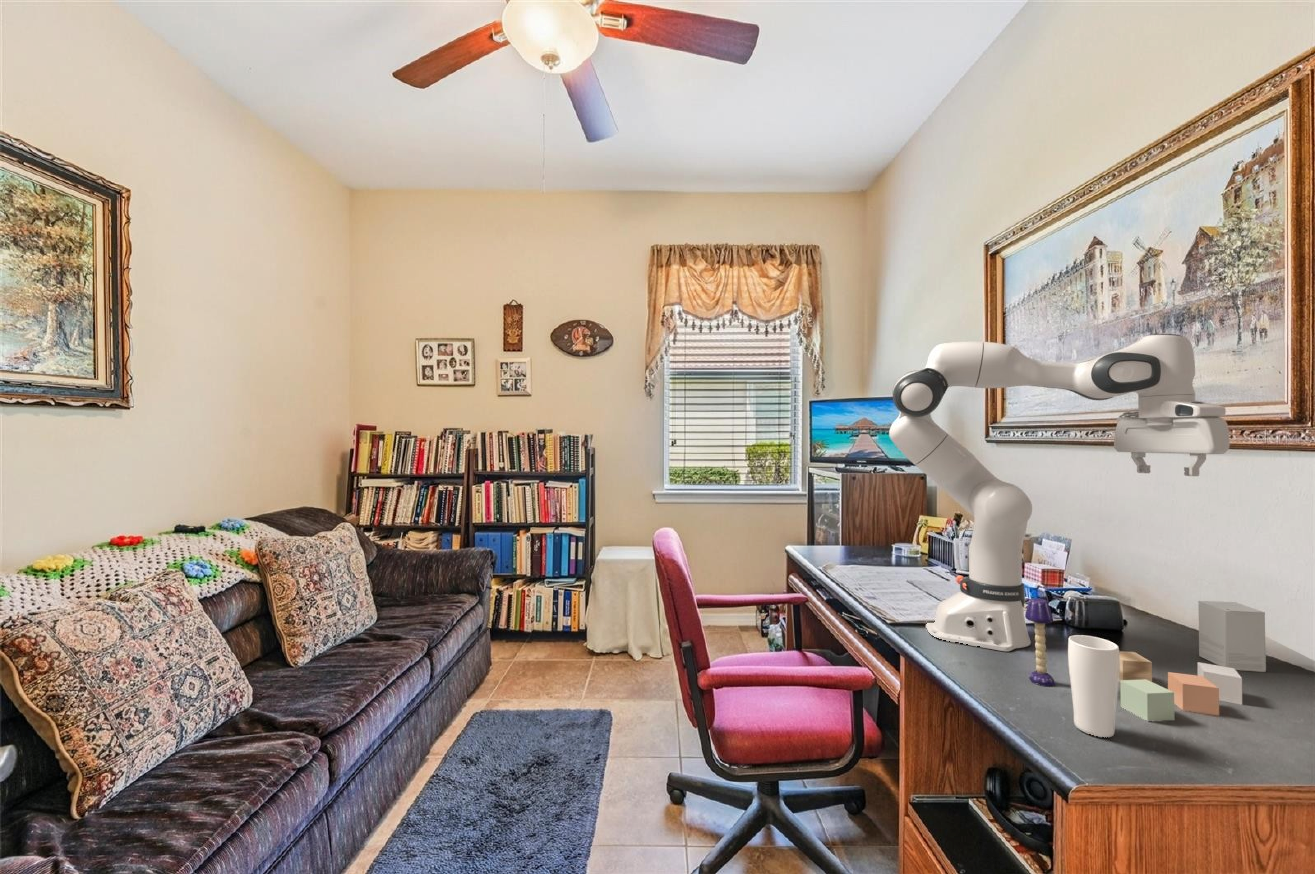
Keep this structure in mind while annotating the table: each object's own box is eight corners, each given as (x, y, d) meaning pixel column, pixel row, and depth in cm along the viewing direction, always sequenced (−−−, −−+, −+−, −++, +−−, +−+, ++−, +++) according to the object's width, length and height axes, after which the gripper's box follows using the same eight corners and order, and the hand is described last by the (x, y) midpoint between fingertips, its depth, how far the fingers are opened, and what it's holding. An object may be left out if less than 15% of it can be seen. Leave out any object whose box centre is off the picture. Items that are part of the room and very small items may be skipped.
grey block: (1203, 697, 101) (1203, 671, 101) (1197, 687, 105) (1197, 662, 105) (1242, 705, 98) (1241, 678, 98) (1234, 694, 102) (1234, 668, 102)
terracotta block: (1182, 711, 96) (1182, 683, 96) (1168, 698, 100) (1167, 672, 100) (1219, 716, 94) (1218, 688, 94) (1202, 703, 99) (1202, 676, 99)
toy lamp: (1046, 689, 104) (1045, 604, 104) (1020, 679, 108) (1020, 598, 108) (1059, 683, 106) (1058, 600, 106) (1033, 674, 111) (1033, 594, 111)
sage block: (1147, 722, 92) (1147, 693, 92) (1120, 707, 97) (1120, 680, 97) (1174, 721, 92) (1174, 692, 92) (1146, 706, 97) (1145, 679, 97)
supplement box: (1267, 672, 110) (1267, 612, 110) (1225, 670, 112) (1224, 610, 112) (1236, 658, 118) (1236, 601, 118) (1197, 655, 119) (1196, 599, 119)
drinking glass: (1058, 721, 93) (1057, 635, 93) (1094, 718, 93) (1093, 633, 93) (1093, 743, 86) (1092, 651, 86) (1131, 740, 86) (1130, 649, 86)
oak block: (1122, 685, 106) (1122, 660, 106) (1107, 674, 111) (1106, 650, 111) (1152, 687, 105) (1151, 662, 105) (1134, 676, 110) (1134, 652, 110)
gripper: (1105, 412, 123) (1106, 471, 123) (1208, 407, 103) (1209, 478, 103) (1129, 412, 124) (1130, 471, 124) (1235, 407, 104) (1236, 477, 104)
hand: (1166, 474), depth 113 cm, fingers open, 8 cm apart
